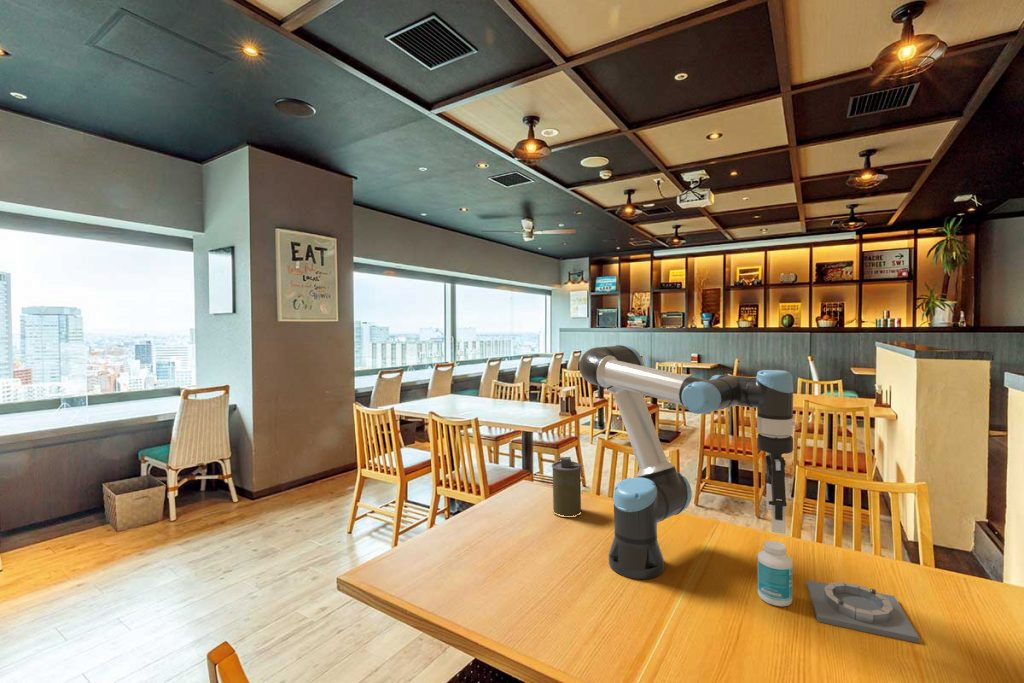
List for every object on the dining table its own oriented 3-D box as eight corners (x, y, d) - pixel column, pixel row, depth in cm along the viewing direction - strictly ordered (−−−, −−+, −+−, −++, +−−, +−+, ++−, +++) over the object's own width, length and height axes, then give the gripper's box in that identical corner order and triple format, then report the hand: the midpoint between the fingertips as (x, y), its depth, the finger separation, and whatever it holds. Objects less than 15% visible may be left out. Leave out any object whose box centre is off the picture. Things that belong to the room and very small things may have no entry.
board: (817, 621, 104) (817, 616, 104) (806, 584, 119) (806, 579, 119) (919, 643, 97) (919, 637, 96) (894, 600, 111) (894, 595, 111)
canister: (551, 517, 163) (550, 462, 162) (553, 505, 173) (552, 453, 172) (582, 519, 161) (581, 462, 160) (583, 507, 171) (582, 454, 170)
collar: (830, 614, 104) (830, 603, 104) (820, 585, 116) (820, 575, 116) (900, 629, 99) (900, 617, 99) (882, 597, 111) (882, 586, 110)
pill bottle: (797, 609, 109) (797, 553, 108) (763, 606, 110) (763, 551, 109) (785, 591, 116) (785, 539, 115) (753, 588, 117) (753, 536, 117)
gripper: (800, 449, 98) (801, 546, 99) (786, 424, 121) (787, 503, 122) (761, 445, 101) (761, 540, 102) (754, 422, 124) (755, 499, 125)
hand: (775, 520), depth 112 cm, fingers open, 13 cm apart
